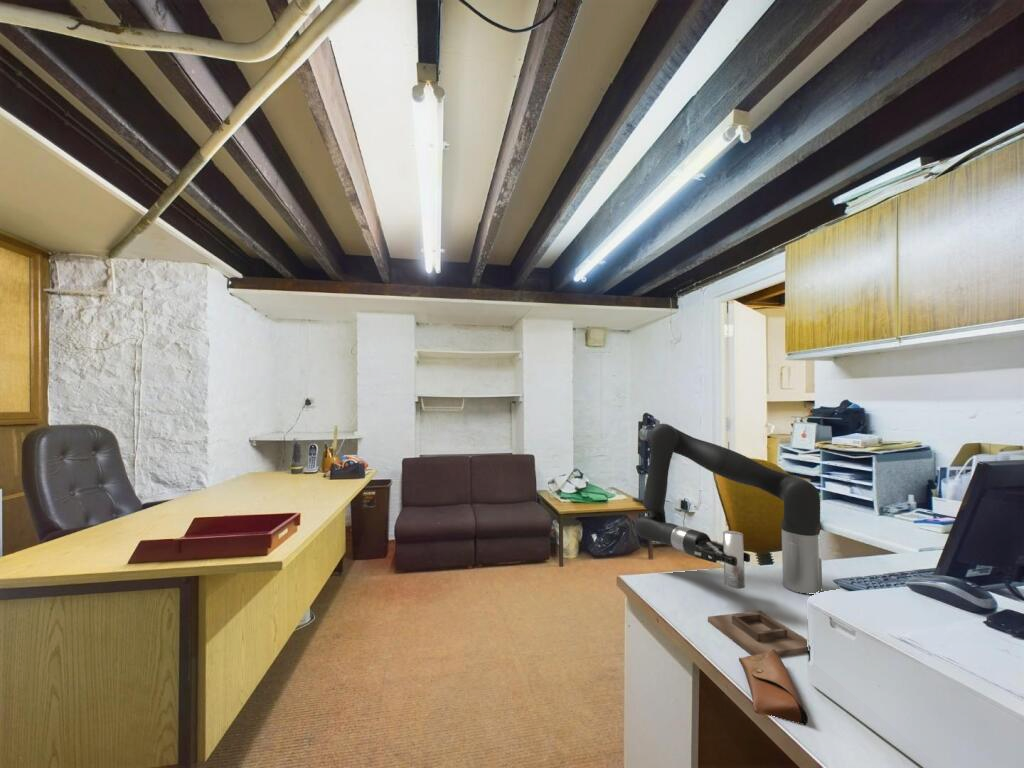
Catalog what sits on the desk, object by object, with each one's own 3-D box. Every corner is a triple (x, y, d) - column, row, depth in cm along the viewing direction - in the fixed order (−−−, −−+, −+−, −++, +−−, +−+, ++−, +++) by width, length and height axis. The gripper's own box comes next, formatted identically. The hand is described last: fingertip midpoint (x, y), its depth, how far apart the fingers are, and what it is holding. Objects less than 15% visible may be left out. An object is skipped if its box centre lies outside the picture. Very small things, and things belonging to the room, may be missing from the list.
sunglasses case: (735, 655, 91) (752, 632, 90) (766, 678, 89) (784, 654, 88) (754, 713, 74) (775, 685, 73) (793, 743, 72) (815, 715, 71)
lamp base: (760, 615, 108) (760, 603, 109) (816, 651, 93) (816, 637, 93) (707, 621, 105) (707, 609, 105) (757, 659, 89) (756, 645, 90)
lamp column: (735, 579, 116) (734, 530, 116) (749, 587, 111) (747, 535, 111) (720, 581, 115) (718, 531, 115) (733, 589, 110) (731, 537, 110)
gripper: (673, 532, 123) (725, 550, 108) (705, 525, 129) (758, 541, 114) (674, 557, 122) (726, 579, 107) (706, 549, 129) (759, 569, 114)
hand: (742, 560), depth 111 cm, fingers closed on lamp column, 5 cm apart
